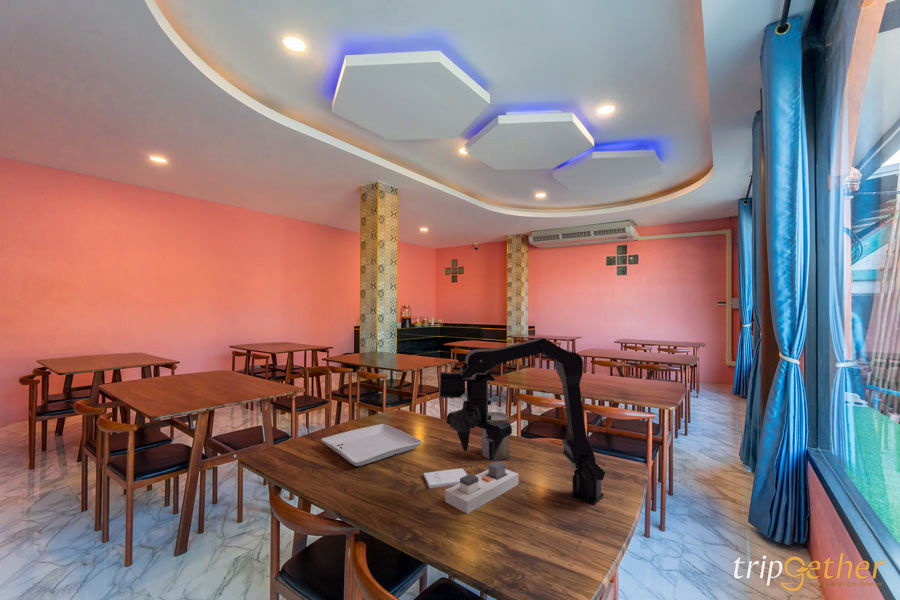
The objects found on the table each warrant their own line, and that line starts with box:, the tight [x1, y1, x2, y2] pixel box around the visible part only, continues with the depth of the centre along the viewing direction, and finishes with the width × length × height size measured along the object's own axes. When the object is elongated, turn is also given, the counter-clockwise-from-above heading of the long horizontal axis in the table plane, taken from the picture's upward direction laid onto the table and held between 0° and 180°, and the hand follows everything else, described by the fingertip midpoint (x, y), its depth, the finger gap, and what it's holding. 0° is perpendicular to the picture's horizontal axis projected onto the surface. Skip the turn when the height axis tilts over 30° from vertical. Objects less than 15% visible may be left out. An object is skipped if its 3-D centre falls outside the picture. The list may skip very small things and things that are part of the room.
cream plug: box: [460, 473, 478, 495], centre depth 95 cm, size 3×4×6 cm
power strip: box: [444, 468, 519, 515], centre depth 100 cm, size 8×22×4 cm, turn 135°
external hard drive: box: [423, 467, 468, 489], centre depth 107 cm, size 2×8×12 cm
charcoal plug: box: [488, 460, 506, 480], centre depth 104 cm, size 3×4×6 cm
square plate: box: [320, 423, 423, 467], centre depth 131 cm, size 27×27×4 cm
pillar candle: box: [481, 411, 510, 461], centre depth 126 cm, size 10×10×15 cm
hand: (478, 455), depth 96 cm, fingers open, 9 cm apart
